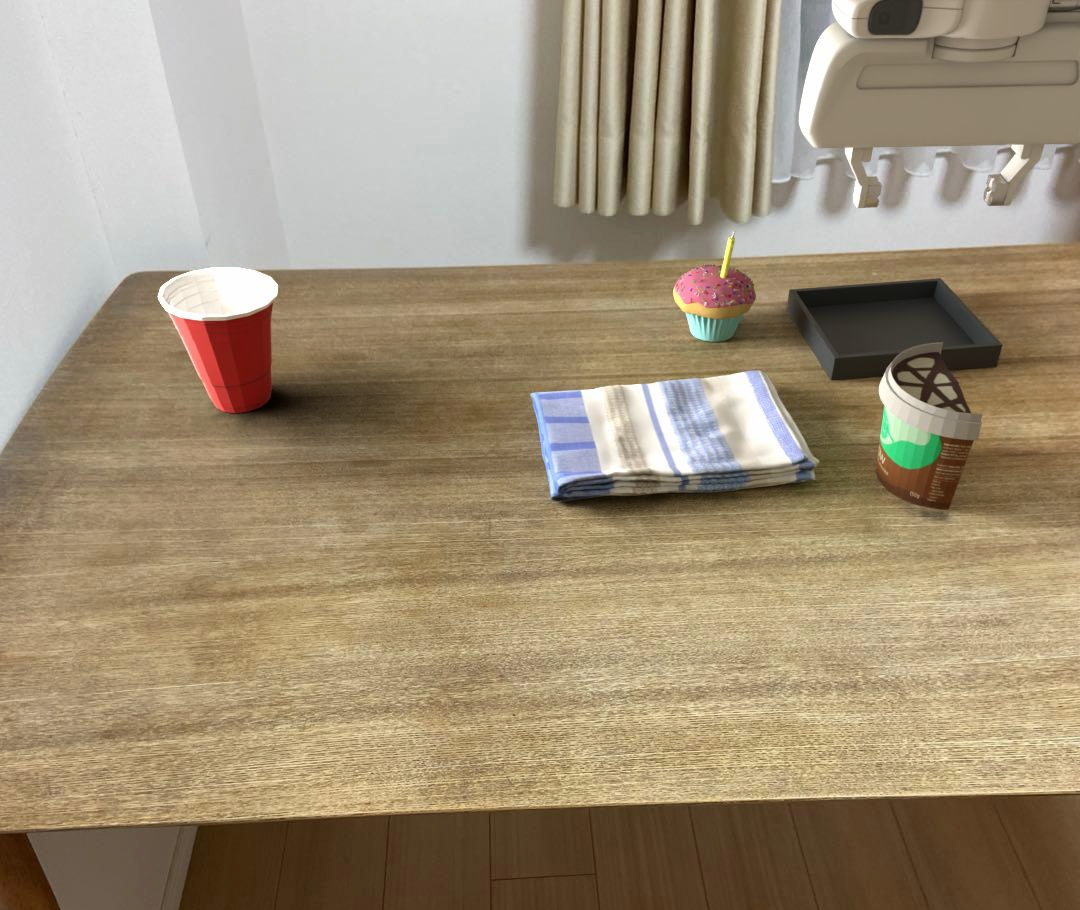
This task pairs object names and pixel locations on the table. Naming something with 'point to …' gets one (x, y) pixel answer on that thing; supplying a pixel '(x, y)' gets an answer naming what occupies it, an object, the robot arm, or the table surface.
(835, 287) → the tray
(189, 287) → the plastic cup
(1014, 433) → the table surface
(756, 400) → the dish towel
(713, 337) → the cupcake
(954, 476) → the food container
